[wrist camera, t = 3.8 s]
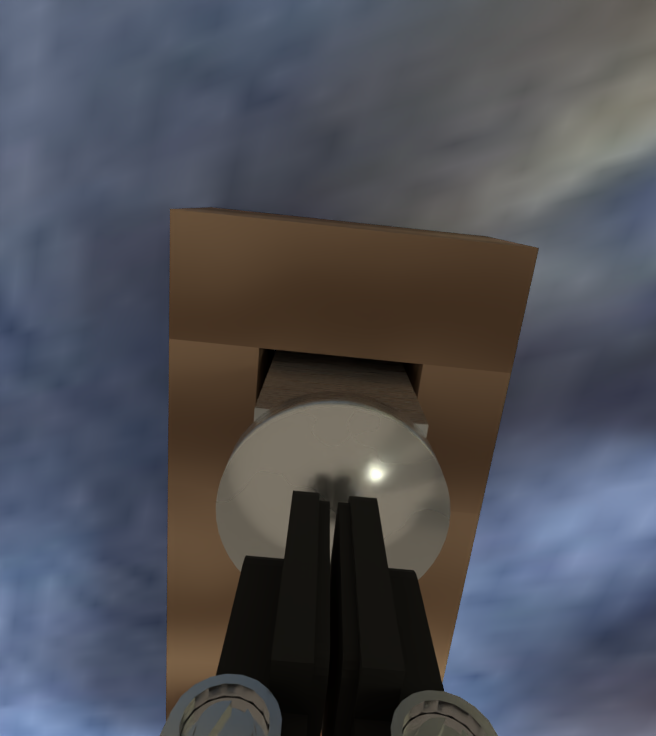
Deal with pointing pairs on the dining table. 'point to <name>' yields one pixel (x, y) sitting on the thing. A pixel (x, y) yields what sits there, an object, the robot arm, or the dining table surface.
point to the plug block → (330, 337)
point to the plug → (335, 458)
